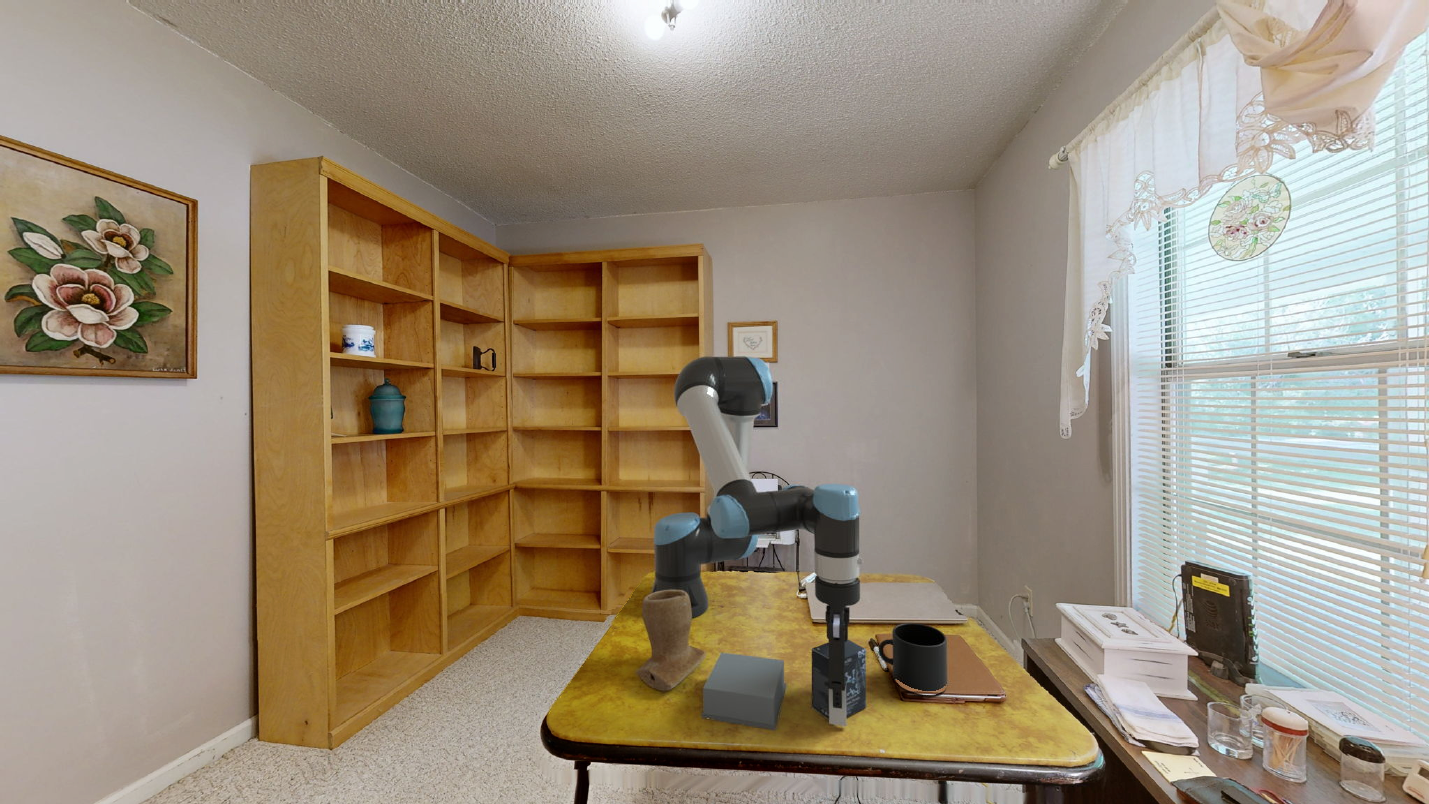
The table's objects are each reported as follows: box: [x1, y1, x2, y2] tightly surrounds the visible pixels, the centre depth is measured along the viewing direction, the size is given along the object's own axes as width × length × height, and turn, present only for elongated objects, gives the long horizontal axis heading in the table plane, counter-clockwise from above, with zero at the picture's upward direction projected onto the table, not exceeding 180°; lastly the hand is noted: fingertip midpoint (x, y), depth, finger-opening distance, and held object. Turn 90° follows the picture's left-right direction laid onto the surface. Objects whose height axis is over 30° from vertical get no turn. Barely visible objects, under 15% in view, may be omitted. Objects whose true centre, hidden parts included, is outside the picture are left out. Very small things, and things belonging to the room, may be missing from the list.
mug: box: [878, 622, 948, 691], centre depth 95 cm, size 9×12×9 cm
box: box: [811, 639, 867, 721], centre depth 87 cm, size 8×6×11 cm
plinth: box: [700, 652, 787, 731], centre depth 89 cm, size 13×13×5 cm
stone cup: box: [636, 590, 707, 692], centre depth 100 cm, size 15×12×15 cm
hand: (839, 705), depth 87 cm, fingers closed on box, 9 cm apart
